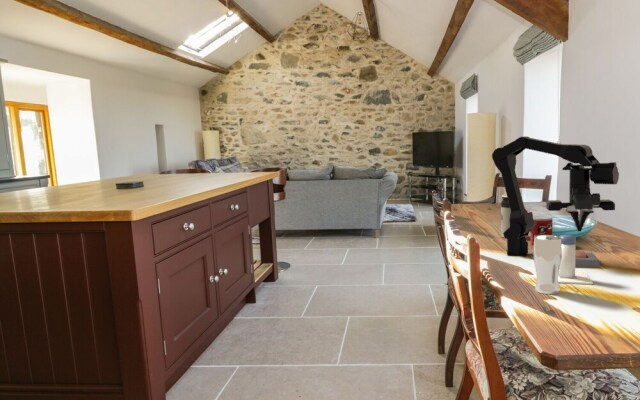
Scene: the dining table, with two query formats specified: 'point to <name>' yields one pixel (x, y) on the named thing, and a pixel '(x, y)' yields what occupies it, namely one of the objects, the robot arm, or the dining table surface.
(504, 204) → the travel mug
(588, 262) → the button housing
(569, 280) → the cream square base plate
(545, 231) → the canned food
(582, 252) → the button
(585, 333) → the dining table surface
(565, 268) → the blue capped bottle
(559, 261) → the beer glass
